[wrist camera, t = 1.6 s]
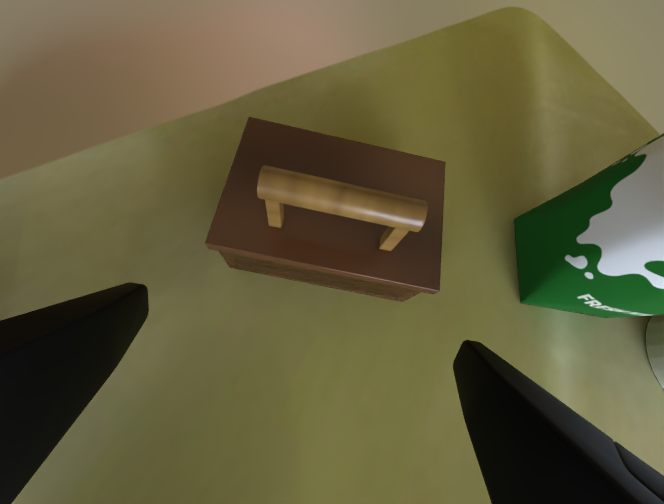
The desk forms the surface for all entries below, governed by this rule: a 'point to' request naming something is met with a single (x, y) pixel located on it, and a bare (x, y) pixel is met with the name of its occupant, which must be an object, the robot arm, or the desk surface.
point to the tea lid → (333, 207)
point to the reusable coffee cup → (656, 346)
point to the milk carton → (599, 242)
